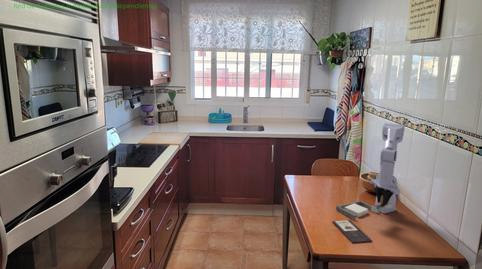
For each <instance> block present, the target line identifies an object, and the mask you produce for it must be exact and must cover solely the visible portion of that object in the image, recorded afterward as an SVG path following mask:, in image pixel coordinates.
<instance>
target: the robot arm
mask: <svg viewBox="0 0 482 269" xmlns="http://www.w3.org/2000/svg"><path fill="white" fill-rule="evenodd" d="M405 127H406V126H405V125H404V124H399V123H398V124H396V123H390V122H389V123H386V122H384V123H383V126H382V132H381V135H382V136H381V138H382V140H383V141H384V143H383V147H382V149H381V151H380V154H379V155H380V157H379V158H380V159H379V160H380V161H379V162H380V163H379V166H380V167H379V173H378V174H377V175H376V177H375V178H376V179H374V178H372V179H370V183H369V184H371V185H374V186H373V190H374V192H375V195H376V198H375V204H374V205H377V204H379V203H380V196H381V194H383V205H387V204H388V202H389V203H392V208H390V209H387V210H384V211H381V212H380V213H382V214H387V213H392V212H396V211H397V209H396V203H397V196H396V195H400V192H401V189H399V188H398V187H397V186H398V184H397V183H398V179H397V177H396V176H395V175H394V171H395V166H396V165H395V164H396V163H397V156H398V144H400V143H402V142H403V138H404V134H405Z"/></svg>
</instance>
